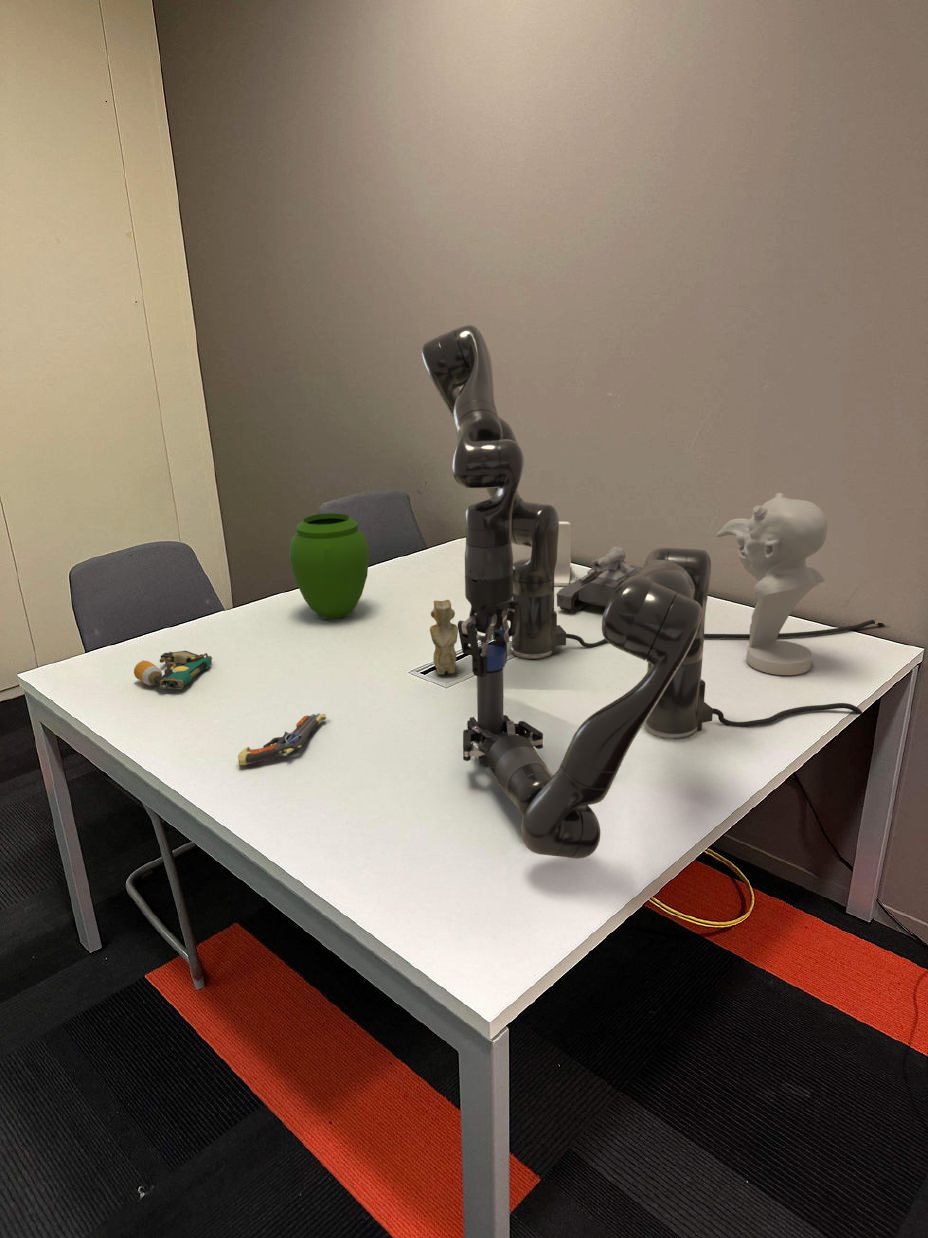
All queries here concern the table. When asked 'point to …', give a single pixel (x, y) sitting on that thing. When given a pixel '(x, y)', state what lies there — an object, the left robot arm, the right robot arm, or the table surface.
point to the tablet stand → (562, 555)
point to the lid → (495, 657)
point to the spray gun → (172, 669)
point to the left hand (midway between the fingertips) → (489, 669)
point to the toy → (597, 582)
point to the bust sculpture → (778, 575)
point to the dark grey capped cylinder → (490, 703)
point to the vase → (329, 563)
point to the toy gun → (282, 741)
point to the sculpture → (444, 637)
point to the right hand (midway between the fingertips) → (485, 720)
